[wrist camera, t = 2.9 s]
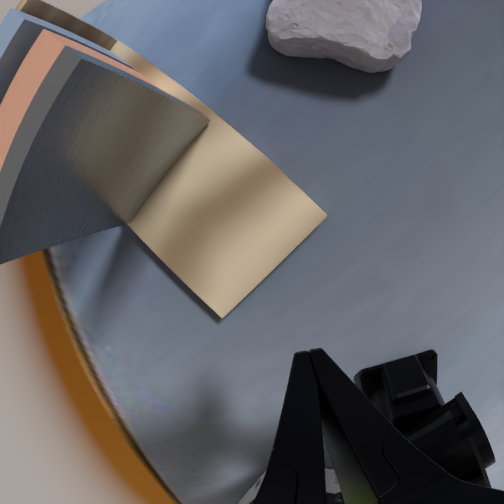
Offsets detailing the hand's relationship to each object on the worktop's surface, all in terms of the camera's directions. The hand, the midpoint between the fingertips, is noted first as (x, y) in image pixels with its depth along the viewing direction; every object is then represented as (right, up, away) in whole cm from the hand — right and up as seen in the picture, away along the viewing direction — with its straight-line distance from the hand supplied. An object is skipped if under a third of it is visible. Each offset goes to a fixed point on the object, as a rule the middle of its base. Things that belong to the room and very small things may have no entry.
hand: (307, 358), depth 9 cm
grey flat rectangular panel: (-8, +9, +10) cm, 16 cm away
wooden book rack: (-8, +10, +12) cm, 17 cm away
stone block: (+6, +21, +7) cm, 23 cm away
